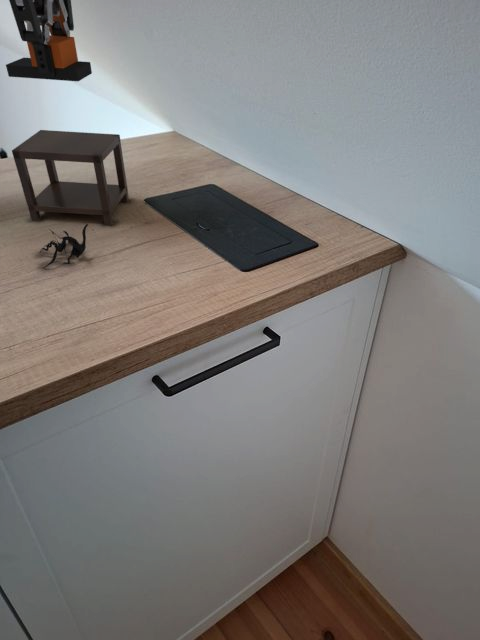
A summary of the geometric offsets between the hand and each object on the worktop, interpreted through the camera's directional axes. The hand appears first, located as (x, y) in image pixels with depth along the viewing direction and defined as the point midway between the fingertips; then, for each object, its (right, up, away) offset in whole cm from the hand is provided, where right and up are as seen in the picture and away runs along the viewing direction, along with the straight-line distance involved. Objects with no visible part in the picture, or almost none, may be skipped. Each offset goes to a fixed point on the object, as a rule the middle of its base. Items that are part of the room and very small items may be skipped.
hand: (57, 71), depth 70 cm
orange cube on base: (-1, 0, 0) cm, 1 cm away
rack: (-3, -15, +18) cm, 24 cm away
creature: (-1, -26, +6) cm, 27 cm away
